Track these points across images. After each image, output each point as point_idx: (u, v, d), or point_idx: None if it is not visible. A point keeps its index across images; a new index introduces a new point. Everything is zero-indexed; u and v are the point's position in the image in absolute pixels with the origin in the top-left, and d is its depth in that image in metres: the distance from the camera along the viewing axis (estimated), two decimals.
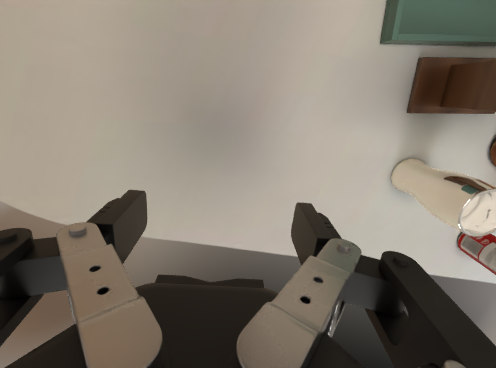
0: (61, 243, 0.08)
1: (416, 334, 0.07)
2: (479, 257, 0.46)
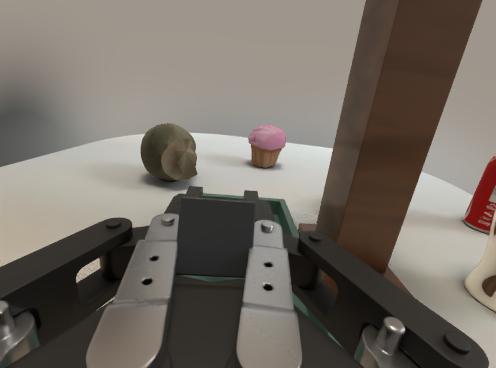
0: (151, 227, 0.09)
1: (348, 301, 0.08)
2: None
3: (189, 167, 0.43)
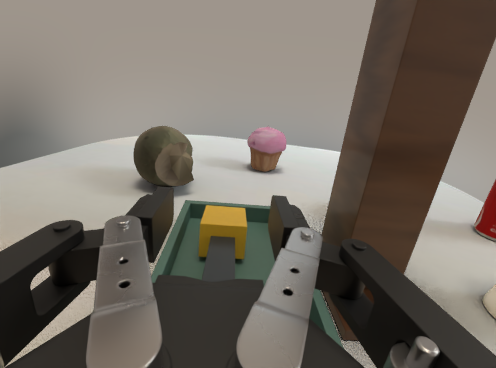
0: (106, 232, 0.09)
1: (382, 315, 0.08)
2: None
3: (185, 172, 0.41)
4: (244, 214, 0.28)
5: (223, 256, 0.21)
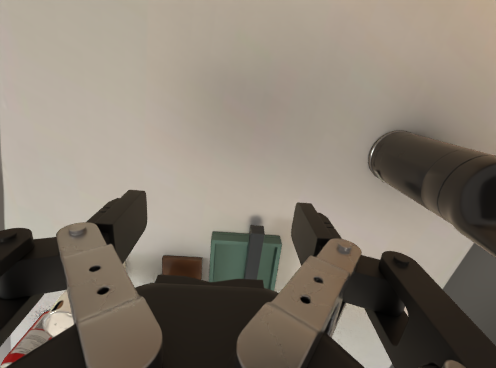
0: (61, 243, 0.08)
1: (416, 334, 0.07)
2: (33, 330, 0.51)
3: None
4: None
5: None
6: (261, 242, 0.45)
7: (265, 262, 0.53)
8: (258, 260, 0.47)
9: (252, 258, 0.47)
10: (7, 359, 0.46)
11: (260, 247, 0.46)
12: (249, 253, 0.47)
